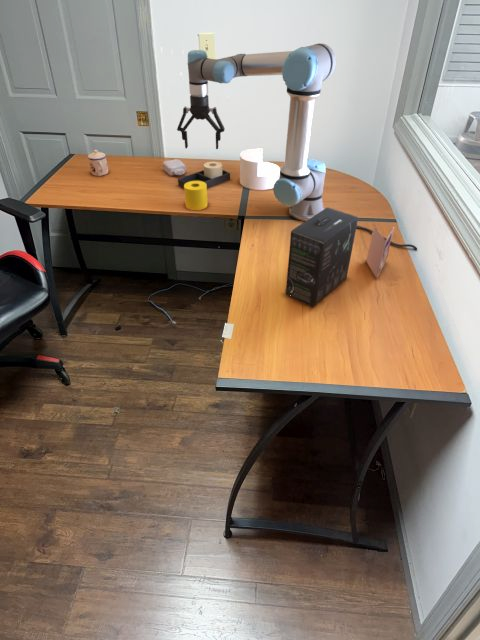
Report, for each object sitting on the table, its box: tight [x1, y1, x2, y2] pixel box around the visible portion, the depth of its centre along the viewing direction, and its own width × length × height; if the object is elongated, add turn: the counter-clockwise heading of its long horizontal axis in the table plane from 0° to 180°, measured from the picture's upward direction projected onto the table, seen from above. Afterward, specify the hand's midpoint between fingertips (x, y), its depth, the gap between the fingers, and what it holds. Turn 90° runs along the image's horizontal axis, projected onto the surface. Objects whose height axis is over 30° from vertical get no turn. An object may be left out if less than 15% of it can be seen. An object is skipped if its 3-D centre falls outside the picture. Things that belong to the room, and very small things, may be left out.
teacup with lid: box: [87, 149, 109, 177], centre depth 223 cm, size 12×9×12 cm
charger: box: [162, 158, 187, 177], centre depth 225 cm, size 5×9×15 cm
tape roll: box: [183, 181, 209, 211], centre depth 195 cm, size 10×10×9 cm
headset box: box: [285, 207, 359, 308], centre depth 142 cm, size 22×12×26 cm, turn 141°
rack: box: [177, 169, 231, 189], centre depth 217 cm, size 12×24×4 cm, turn 133°
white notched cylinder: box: [239, 147, 281, 191], centre depth 215 cm, size 20×20×13 cm
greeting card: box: [365, 224, 395, 279], centre depth 154 cm, size 11×7×15 cm, turn 151°
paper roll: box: [203, 161, 223, 179], centre depth 218 cm, size 9×9×7 cm
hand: (201, 147), depth 191 cm, fingers open, 13 cm apart
